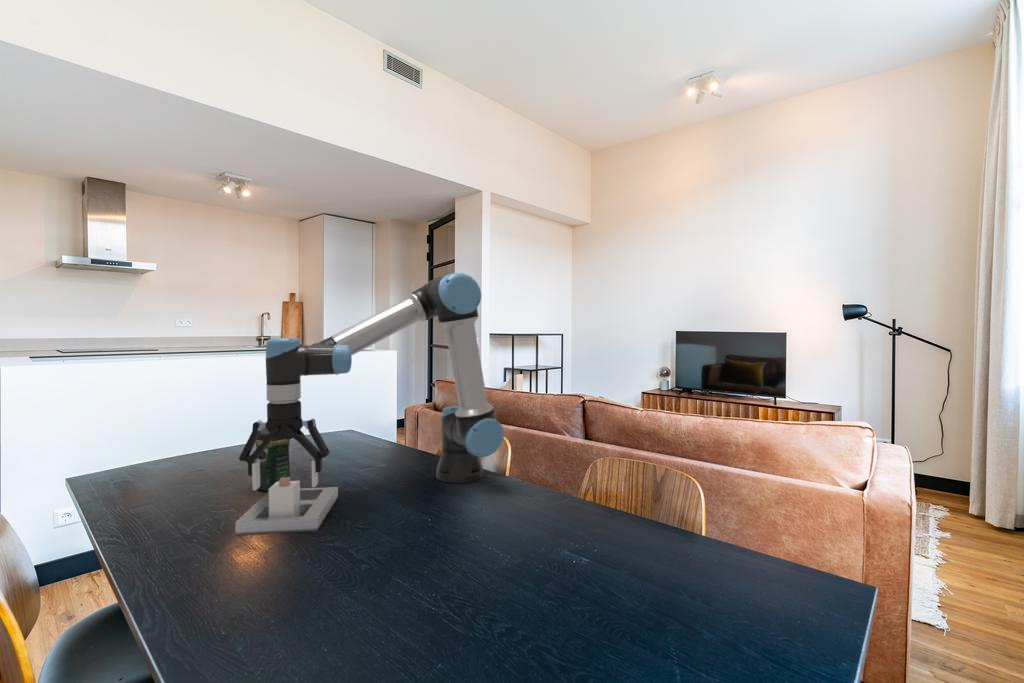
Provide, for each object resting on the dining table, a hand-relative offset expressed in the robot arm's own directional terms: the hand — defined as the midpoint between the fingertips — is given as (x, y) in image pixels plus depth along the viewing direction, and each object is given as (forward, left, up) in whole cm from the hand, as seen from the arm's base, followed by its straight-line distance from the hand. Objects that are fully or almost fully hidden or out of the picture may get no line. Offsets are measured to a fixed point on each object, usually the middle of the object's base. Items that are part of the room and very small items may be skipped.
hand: (286, 487), depth 114 cm
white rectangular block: (0, 0, -8) cm, 8 cm away
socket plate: (0, -5, -9) cm, 10 cm away
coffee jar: (+12, -27, -9) cm, 31 cm away
